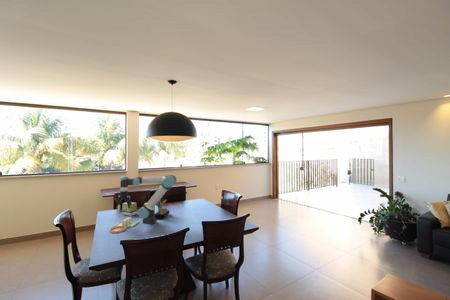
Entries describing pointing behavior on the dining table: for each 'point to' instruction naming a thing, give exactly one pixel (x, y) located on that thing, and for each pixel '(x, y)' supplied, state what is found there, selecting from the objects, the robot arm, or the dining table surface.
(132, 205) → the tea box
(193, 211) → the dining table surface
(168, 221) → the dining table surface
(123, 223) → the pale grey block
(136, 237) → the dining table surface
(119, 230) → the bowl
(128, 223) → the cream rectangular block
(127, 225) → the parts tray
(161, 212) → the coral
